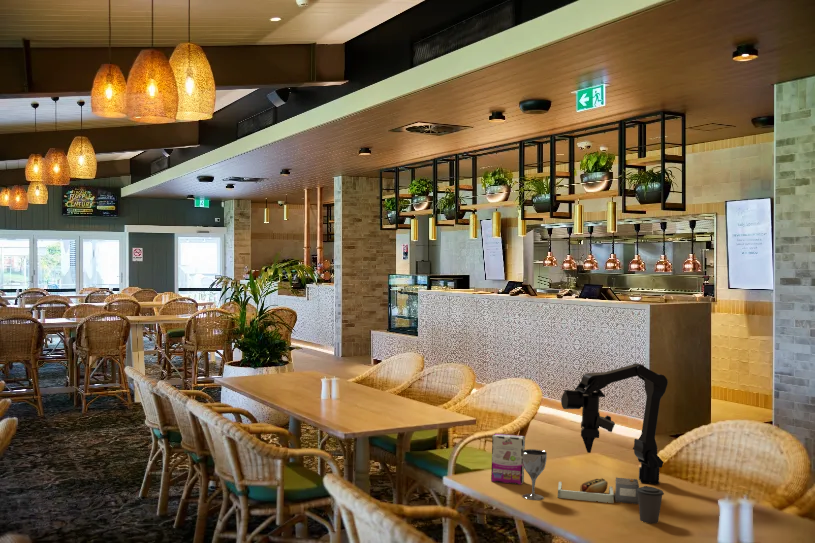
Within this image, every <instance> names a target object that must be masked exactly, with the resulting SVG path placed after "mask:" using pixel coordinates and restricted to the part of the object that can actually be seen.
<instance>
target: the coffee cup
mask: <svg viewBox="0 0 815 543" xmlns="http://www.w3.org/2000/svg"><path fill="white" fill-rule="evenodd" d="M636 491H637V492H638V499H639V504H638V510H639V512H638V514H639V521H641V522H642V521H643V522H642V523H645V522H646V523H645V524H659V519H660V518H659V517H660V513H661V506H662V499H663V496H664V495H665V493H664V491H663V490H661V489H659V488H658V487H654V486H648V485H644V486H641V487H640V486H639V488H638V489H637V490H636Z"/></svg>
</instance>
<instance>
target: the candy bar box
mask: <svg viewBox="0 0 815 543" xmlns="http://www.w3.org/2000/svg"><path fill="white" fill-rule="evenodd" d="M491 439H492V442H491V443H492V444H491V470H490V471H491V476H490V479H491V480H490V481H491V482H494V483H502V484H504V483H505V484H509V485H510V484H511V485H522V484H523V483H524V481H525V469H524V466H523V450H526V448H525V447H526V446H525V445H526V436H525V435H517V434H516V435H515V434H504V433H494V434H493V435H492V438H491Z"/></svg>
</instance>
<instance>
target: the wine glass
mask: <svg viewBox="0 0 815 543" xmlns="http://www.w3.org/2000/svg"><path fill="white" fill-rule="evenodd" d="M547 455H548V453H547V451H545V450H541V449H534V448H529V449H525V450H523V466H524V471H525V472H526V473H527V474H528V476H529V477H530V480H531V492H530V493H525V494H522V496H521V497H522V498H524V499H525V500H530V501H541V500H544V498H545V497H544V496H543V495H541V494H538V493H536V492H535V486H536V480H538V477H539V476H540V475H541V473H543V472H544V470H545V467H546V463H547V458H548V457H547Z"/></svg>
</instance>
